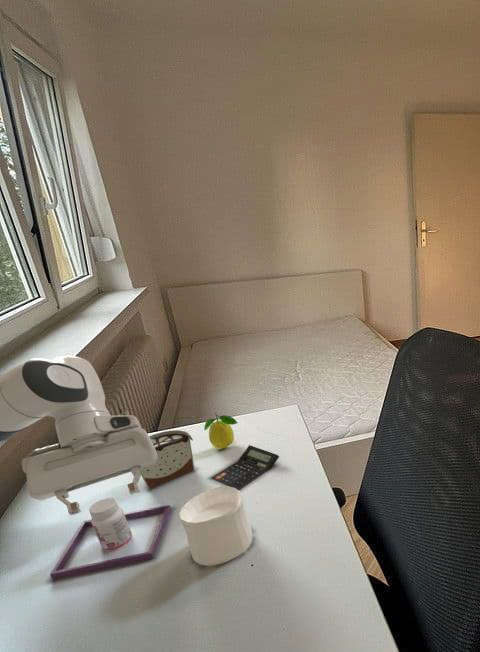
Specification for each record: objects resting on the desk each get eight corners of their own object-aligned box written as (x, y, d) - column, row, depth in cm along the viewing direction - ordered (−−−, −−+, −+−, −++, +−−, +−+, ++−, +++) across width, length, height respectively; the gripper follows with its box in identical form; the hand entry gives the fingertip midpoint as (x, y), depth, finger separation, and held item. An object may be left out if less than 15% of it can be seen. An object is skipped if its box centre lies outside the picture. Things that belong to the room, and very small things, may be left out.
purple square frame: (54, 583, 72) (49, 574, 71) (86, 529, 84) (83, 521, 83) (154, 562, 75) (151, 553, 74) (172, 512, 87) (169, 504, 86)
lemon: (243, 447, 109) (234, 411, 105) (221, 458, 105) (211, 420, 101) (229, 439, 113) (221, 404, 109) (207, 449, 109) (197, 413, 105)
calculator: (211, 481, 96) (207, 469, 95) (253, 455, 105) (250, 444, 104) (239, 493, 91) (236, 481, 90) (281, 465, 100) (278, 453, 99)
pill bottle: (95, 551, 78) (79, 513, 74) (116, 532, 82) (101, 495, 79) (119, 553, 77) (103, 515, 74) (138, 534, 81) (124, 496, 78)
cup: (265, 538, 79) (254, 493, 75) (220, 579, 71) (206, 531, 67) (228, 522, 83) (216, 480, 79) (181, 560, 75) (166, 514, 71)
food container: (191, 460, 104) (180, 423, 100) (201, 470, 100) (191, 432, 96) (134, 484, 97) (120, 445, 93) (143, 496, 92) (128, 456, 88)
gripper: (12, 448, 77) (29, 523, 73) (144, 413, 87) (164, 477, 83) (25, 459, 82) (41, 529, 78) (148, 424, 92) (167, 485, 89)
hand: (105, 502), depth 81 cm, fingers open, 8 cm apart
